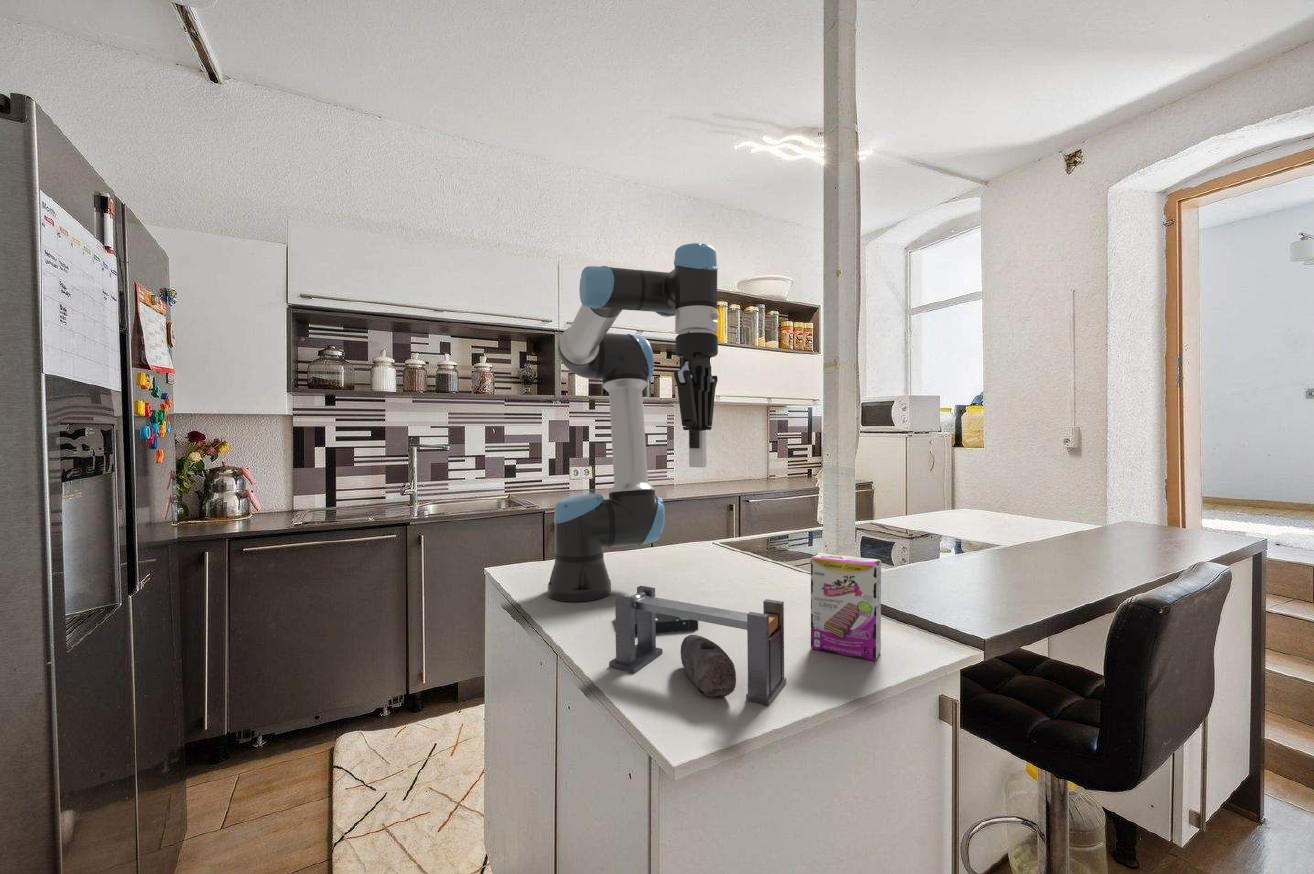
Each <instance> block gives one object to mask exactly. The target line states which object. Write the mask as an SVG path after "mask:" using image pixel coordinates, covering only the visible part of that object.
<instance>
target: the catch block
mask: <svg viewBox="0 0 1314 874" xmlns="http://www.w3.org/2000/svg"><path fill="white" fill-rule="evenodd" d="M762 603H763V613H760V612H755V611H749V612H748V614H747V630H746V631H747V634H746V635H747V637H746V638H747V639H746V641H747V642H746V643H747V647H746V648H747V693H746V694H745V700H746V701H747V700H748V701H747V702H752V703H755V704H759V705H763V706H768V707H769V706H770V705H771V704H772V702H773V701H774V700H775V699H776V698H777V696H778V695H779V694H780V692H781V691H782V690H783V688H784V686H786V684H787V677H785V627H784V626H785V619H784V618H785V616H784V615H785V614H784V613H785V611H784V610H785V608H784V606H785V605H784V603H785V602H784V601H782V600H775V599H769V598H765V599H764V600H763V601H762ZM765 613H768V614H774V615H778V627H777V628H776V629H775V630H774V631H773V632H772V633H771V634H770V635H769V615H767V614H765ZM773 699H774V700H773Z"/></svg>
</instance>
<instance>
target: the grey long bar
mask: <svg viewBox="0 0 1314 874" xmlns="http://www.w3.org/2000/svg"><path fill="white" fill-rule="evenodd" d="M630 597H631V598H635V609H639V610H644V611H649V612H655V613H660V614H665V615H671V616H676V617H681V618H686V619H692V620H697V621H698V622H704V623H708V624H712V625H713V624H714V625H719V626H724V627H730V628H735V629H740V630H745V631H747V614H748V613H749V612H748V613H747V612H743V611H737V610H730V609H724V608H719V607H713V606H706V605H702V604H695V603H690V602H684V601H678V600H672V599H667V598H661V597H656V596H655V597H650V596H647V594H646V593H645V592H639V593H637V592H636V593H635V594H633V595H631V596H630ZM765 614H767V615H769V635H770V634H771V633H772V632H773V631H774V630H775V629H776V628H777V627H778V615H774V614H768V613H765Z"/></svg>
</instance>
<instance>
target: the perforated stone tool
mask: <svg viewBox="0 0 1314 874" xmlns="http://www.w3.org/2000/svg"><path fill="white" fill-rule="evenodd" d="M680 660H681V665H682V667H683V670H684V671H685V673H686V674H687V676H688V677H689V679H690V680H691V681H692V683H693V684H694V686H695V687H696V688H697V689H698V690H700V691H702V692H703V693H704V695H705V696H707V697H711V698H716V697H727V696H729V695H731V694H732V693H733V692H734V691H735V689H736V685H737V674H736V673H737V672H736V668H735V664H734V662H733V660H732V659H731V658H730V656H729V655H728V653H726V651H724V650H723V648H721V646H719V645H718V644H717V643H716V642H714V641H712V640H710V639H709V638H706V637H703V636H702V635H697V634H689V635H687V636H685V637H684V639H682V642H681V644H680Z"/></svg>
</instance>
